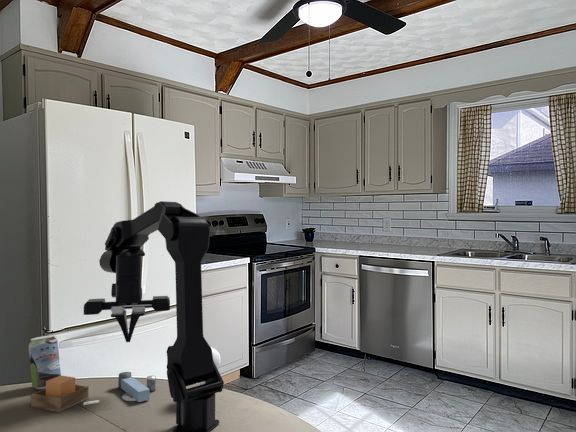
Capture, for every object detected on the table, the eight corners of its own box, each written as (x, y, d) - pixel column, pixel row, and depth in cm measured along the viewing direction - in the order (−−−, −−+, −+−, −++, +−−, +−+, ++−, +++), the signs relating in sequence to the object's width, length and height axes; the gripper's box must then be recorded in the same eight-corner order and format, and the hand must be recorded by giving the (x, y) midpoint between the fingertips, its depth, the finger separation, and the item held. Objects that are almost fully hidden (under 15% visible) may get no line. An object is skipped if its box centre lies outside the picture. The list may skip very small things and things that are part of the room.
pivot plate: (155, 393, 100) (155, 392, 100) (138, 403, 94) (138, 401, 94) (134, 389, 102) (134, 388, 102) (115, 399, 97) (115, 398, 97)
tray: (88, 398, 97) (88, 386, 97) (59, 412, 90) (59, 399, 90) (61, 393, 100) (61, 382, 100) (30, 406, 92) (31, 394, 92)
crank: (151, 399, 96) (151, 385, 96) (136, 402, 94) (137, 389, 94) (129, 383, 106) (129, 370, 106) (116, 386, 104) (116, 373, 104)
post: (157, 389, 102) (157, 376, 102) (152, 392, 101) (152, 378, 101) (150, 388, 103) (150, 375, 103) (144, 391, 101) (144, 377, 101)
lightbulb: (219, 390, 102) (219, 342, 102) (221, 400, 96) (222, 349, 96) (192, 393, 100) (192, 344, 100) (193, 403, 94) (193, 351, 95)
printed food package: (48, 393, 100) (49, 340, 100) (20, 390, 102) (21, 338, 102) (67, 383, 106) (68, 333, 107) (41, 381, 108) (41, 332, 108)
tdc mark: (98, 400, 96) (98, 400, 96) (98, 402, 95) (98, 401, 95) (83, 403, 94) (83, 402, 94) (83, 405, 93) (83, 404, 93)
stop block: (60, 405, 92) (60, 383, 92) (45, 402, 94) (45, 381, 94) (75, 398, 96) (75, 377, 96) (60, 396, 97) (61, 375, 97)
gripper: (169, 271, 114) (168, 331, 114) (91, 273, 109) (90, 336, 108) (170, 275, 104) (169, 342, 103) (83, 277, 98) (82, 348, 98)
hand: (128, 341), depth 103 cm, fingers closed
